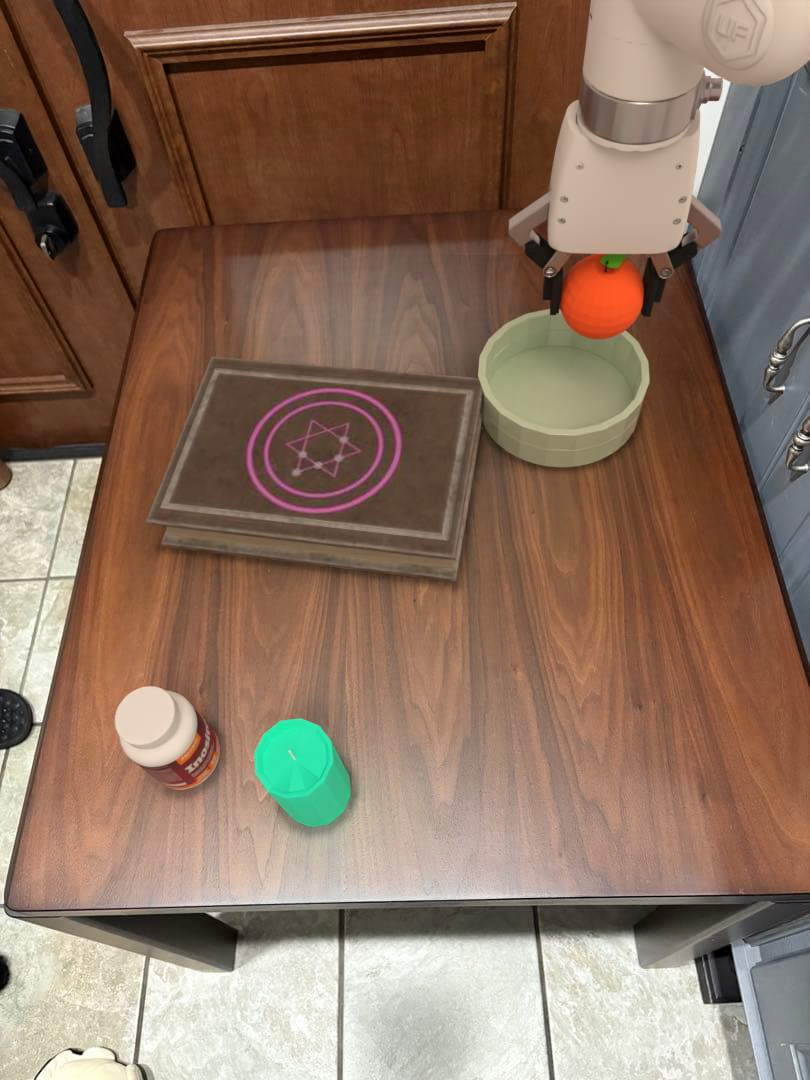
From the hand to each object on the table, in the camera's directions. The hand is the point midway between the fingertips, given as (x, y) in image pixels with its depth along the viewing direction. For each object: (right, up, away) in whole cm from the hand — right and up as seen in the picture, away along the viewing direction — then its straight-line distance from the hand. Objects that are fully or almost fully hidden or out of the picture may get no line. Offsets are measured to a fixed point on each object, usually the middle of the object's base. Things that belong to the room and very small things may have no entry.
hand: (599, 303), depth 67 cm
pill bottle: (-36, -39, +3) cm, 53 cm away
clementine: (0, -1, +2) cm, 3 cm away
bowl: (0, -5, +20) cm, 21 cm away
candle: (-24, -42, 0) cm, 48 cm away
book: (-25, -13, +17) cm, 33 cm away
